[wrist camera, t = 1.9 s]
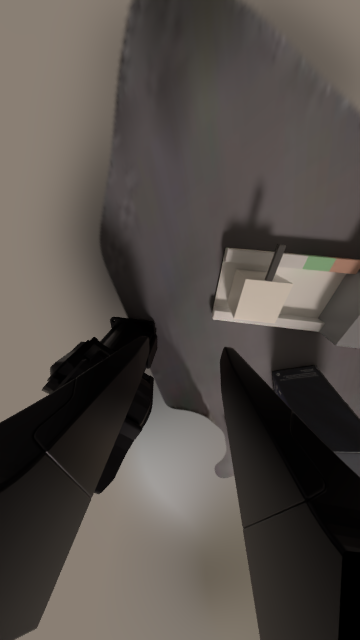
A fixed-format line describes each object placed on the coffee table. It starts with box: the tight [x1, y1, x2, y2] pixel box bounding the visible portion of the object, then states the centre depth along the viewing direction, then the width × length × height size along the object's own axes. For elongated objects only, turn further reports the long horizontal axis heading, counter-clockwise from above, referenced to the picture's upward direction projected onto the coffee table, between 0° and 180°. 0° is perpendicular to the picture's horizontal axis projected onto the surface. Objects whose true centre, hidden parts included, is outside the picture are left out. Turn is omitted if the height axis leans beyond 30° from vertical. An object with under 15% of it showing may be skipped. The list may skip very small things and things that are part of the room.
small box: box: [272, 366, 360, 477], centre depth 21 cm, size 11×6×10 cm, turn 22°
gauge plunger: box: [227, 244, 293, 324], centre depth 15 cm, size 4×7×4 cm, turn 176°
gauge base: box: [212, 247, 360, 348], centre depth 16 cm, size 15×8×4 cm, turn 86°
